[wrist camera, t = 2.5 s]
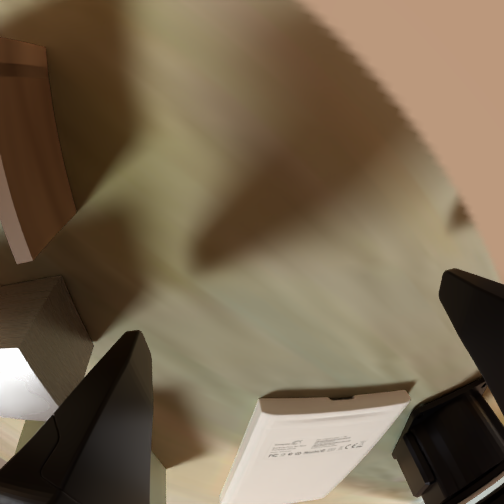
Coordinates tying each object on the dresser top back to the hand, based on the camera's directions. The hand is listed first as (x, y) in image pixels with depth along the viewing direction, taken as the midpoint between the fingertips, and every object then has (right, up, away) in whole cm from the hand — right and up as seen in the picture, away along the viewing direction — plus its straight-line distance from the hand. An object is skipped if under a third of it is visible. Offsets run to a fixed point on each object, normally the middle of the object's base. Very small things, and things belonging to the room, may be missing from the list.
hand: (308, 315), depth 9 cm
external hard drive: (+1, -10, +9) cm, 13 cm away
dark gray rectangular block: (-11, -1, +1) cm, 11 cm away
